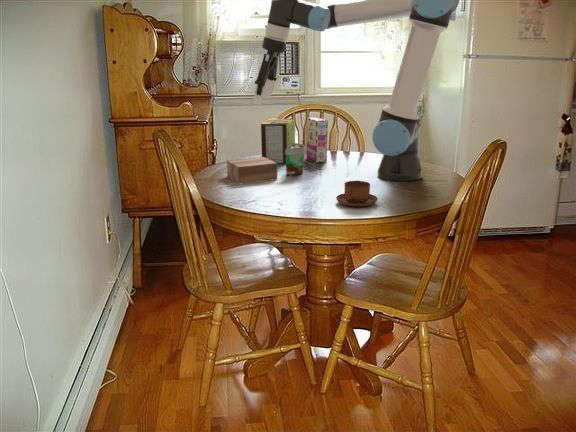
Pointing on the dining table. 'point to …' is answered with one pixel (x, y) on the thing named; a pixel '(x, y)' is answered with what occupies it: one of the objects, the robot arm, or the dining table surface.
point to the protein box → (277, 138)
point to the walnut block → (251, 170)
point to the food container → (295, 159)
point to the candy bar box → (317, 139)
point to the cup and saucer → (357, 194)
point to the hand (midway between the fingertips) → (261, 101)
